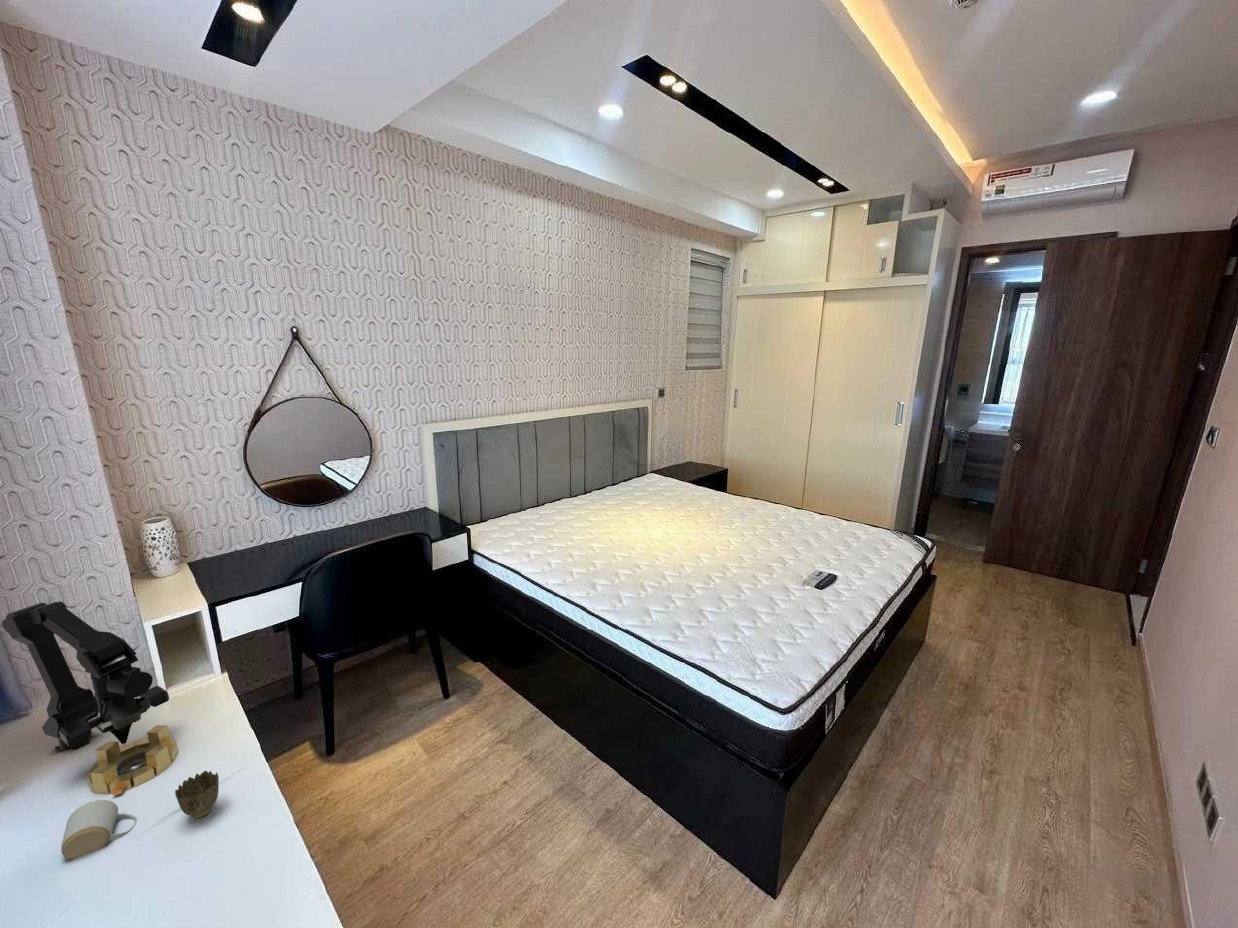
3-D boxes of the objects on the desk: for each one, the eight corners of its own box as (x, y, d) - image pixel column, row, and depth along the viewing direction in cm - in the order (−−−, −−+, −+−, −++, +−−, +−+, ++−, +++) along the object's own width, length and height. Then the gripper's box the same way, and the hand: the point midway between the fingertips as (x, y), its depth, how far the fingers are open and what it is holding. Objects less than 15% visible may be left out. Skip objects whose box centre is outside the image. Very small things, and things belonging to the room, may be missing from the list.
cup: (231, 805, 116) (226, 775, 114) (195, 833, 109) (190, 802, 107) (208, 796, 118) (203, 766, 117) (172, 822, 111) (166, 791, 110)
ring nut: (65, 793, 117) (61, 773, 116) (138, 741, 133) (134, 723, 132) (128, 799, 115) (123, 779, 114) (193, 745, 132) (190, 727, 130)
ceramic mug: (62, 870, 101) (55, 838, 99) (71, 840, 107) (64, 809, 106) (135, 841, 107) (129, 810, 106) (139, 814, 114) (134, 785, 112)
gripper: (69, 723, 112) (84, 783, 115) (173, 677, 128) (184, 731, 131) (51, 706, 117) (66, 764, 120) (154, 664, 133) (164, 716, 137)
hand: (123, 743), depth 127 cm, fingers closed
